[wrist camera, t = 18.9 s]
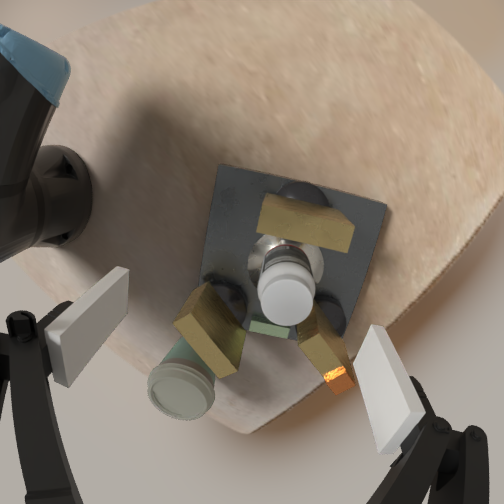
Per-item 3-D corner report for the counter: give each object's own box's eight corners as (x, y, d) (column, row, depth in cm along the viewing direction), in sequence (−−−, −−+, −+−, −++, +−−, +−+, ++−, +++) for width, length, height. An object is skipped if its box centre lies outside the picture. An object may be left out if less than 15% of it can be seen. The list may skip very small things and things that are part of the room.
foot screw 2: (259, 227, 37) (251, 254, 27) (271, 173, 35) (267, 180, 25) (326, 242, 36) (340, 274, 27) (340, 189, 34) (361, 203, 25)
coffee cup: (165, 322, 44) (133, 371, 33) (221, 319, 43) (202, 373, 32) (180, 368, 47) (156, 421, 35) (232, 367, 46) (218, 424, 34)
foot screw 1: (185, 290, 40) (158, 331, 31) (225, 266, 38) (206, 304, 29) (220, 337, 42) (205, 384, 32) (260, 316, 40) (253, 364, 31)
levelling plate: (197, 310, 43) (191, 321, 40) (222, 163, 37) (216, 164, 34) (336, 339, 42) (339, 352, 39) (382, 202, 36) (390, 206, 33)
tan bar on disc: (281, 307, 39) (280, 357, 29) (325, 281, 38) (338, 326, 28) (314, 350, 41) (320, 404, 31) (355, 326, 39) (372, 377, 29)
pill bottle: (297, 295, 38) (301, 339, 29) (254, 277, 38) (244, 318, 28) (318, 253, 36) (329, 288, 27) (272, 234, 36) (269, 264, 27)
